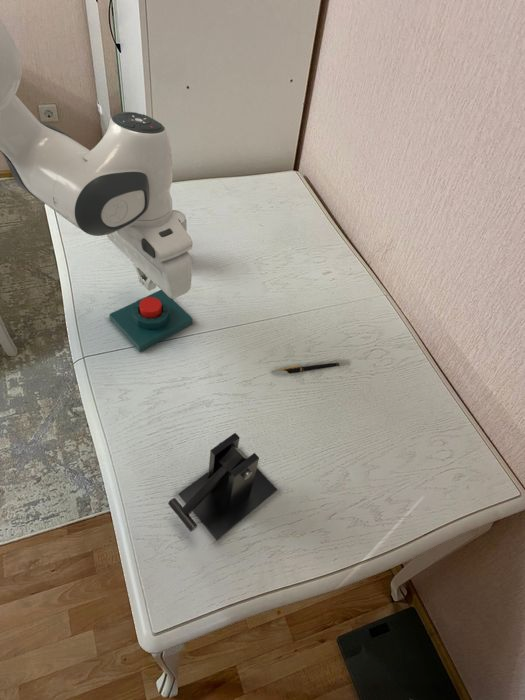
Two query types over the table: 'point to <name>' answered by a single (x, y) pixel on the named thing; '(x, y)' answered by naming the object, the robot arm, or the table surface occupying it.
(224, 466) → the switch lever
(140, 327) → the block
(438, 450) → the table surface
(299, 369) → the fountain pen
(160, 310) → the button
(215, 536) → the switch base
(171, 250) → the robot arm
